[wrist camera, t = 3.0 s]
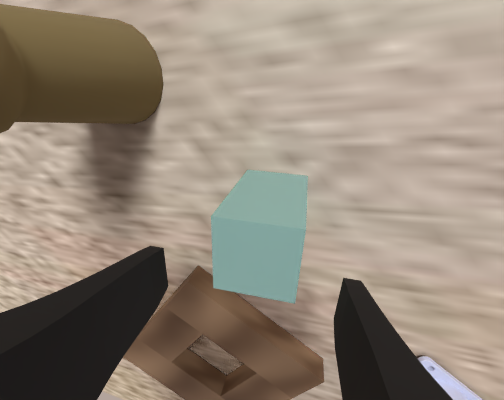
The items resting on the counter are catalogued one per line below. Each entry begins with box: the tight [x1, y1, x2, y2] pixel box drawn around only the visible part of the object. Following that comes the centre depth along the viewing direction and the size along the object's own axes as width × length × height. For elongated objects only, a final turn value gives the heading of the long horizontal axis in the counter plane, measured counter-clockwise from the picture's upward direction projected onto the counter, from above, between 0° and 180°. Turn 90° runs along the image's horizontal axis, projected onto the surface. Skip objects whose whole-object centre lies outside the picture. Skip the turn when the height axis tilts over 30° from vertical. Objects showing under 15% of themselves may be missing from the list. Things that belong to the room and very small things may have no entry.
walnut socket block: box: [123, 266, 324, 400], centre depth 24 cm, size 14×14×2 cm
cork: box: [0, 4, 163, 133], centre depth 11 cm, size 6×6×11 cm
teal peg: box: [211, 170, 308, 304], centre depth 14 cm, size 4×4×7 cm
